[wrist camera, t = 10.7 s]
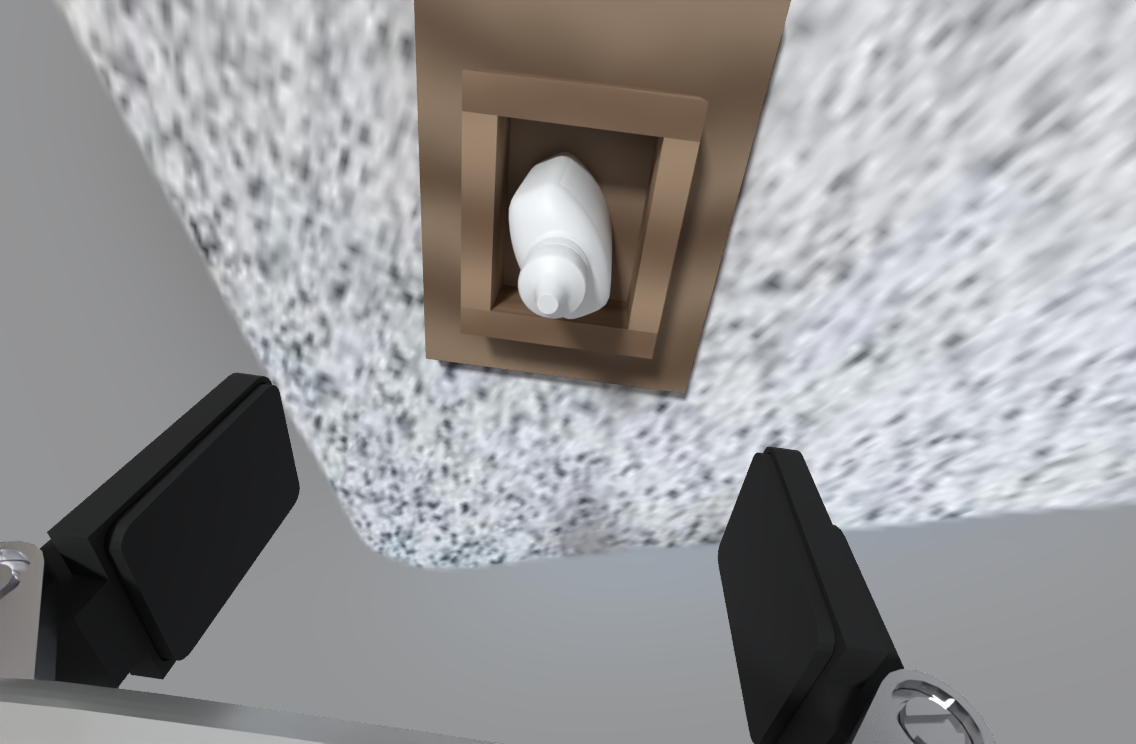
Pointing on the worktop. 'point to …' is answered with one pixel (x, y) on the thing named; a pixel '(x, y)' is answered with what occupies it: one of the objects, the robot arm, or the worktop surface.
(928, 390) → the worktop surface
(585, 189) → the eye dropper bottle
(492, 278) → the bottle stand
